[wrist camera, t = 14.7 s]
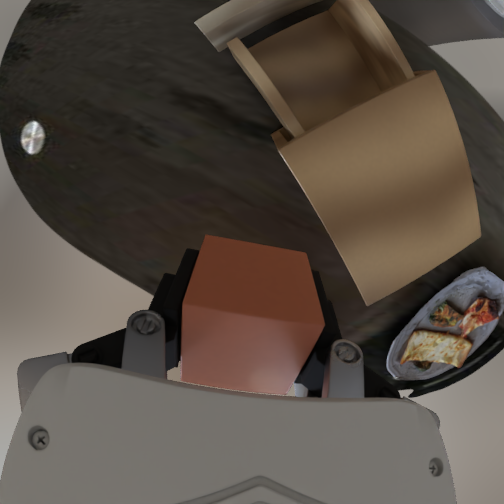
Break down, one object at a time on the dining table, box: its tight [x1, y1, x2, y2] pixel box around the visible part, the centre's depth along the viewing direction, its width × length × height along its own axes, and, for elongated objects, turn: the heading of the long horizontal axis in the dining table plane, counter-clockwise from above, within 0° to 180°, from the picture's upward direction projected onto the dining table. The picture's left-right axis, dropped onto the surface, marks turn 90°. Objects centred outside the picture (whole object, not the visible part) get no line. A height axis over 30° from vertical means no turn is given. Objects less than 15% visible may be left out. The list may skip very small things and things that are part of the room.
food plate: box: [386, 267, 504, 380], centre depth 34 cm, size 25×23×4 cm
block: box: [181, 235, 325, 395], centre depth 11 cm, size 4×4×4 cm
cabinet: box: [271, 70, 481, 306], centre depth 21 cm, size 15×13×9 cm
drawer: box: [194, 0, 415, 139], centre depth 15 cm, size 20×11×7 cm, turn 34°
